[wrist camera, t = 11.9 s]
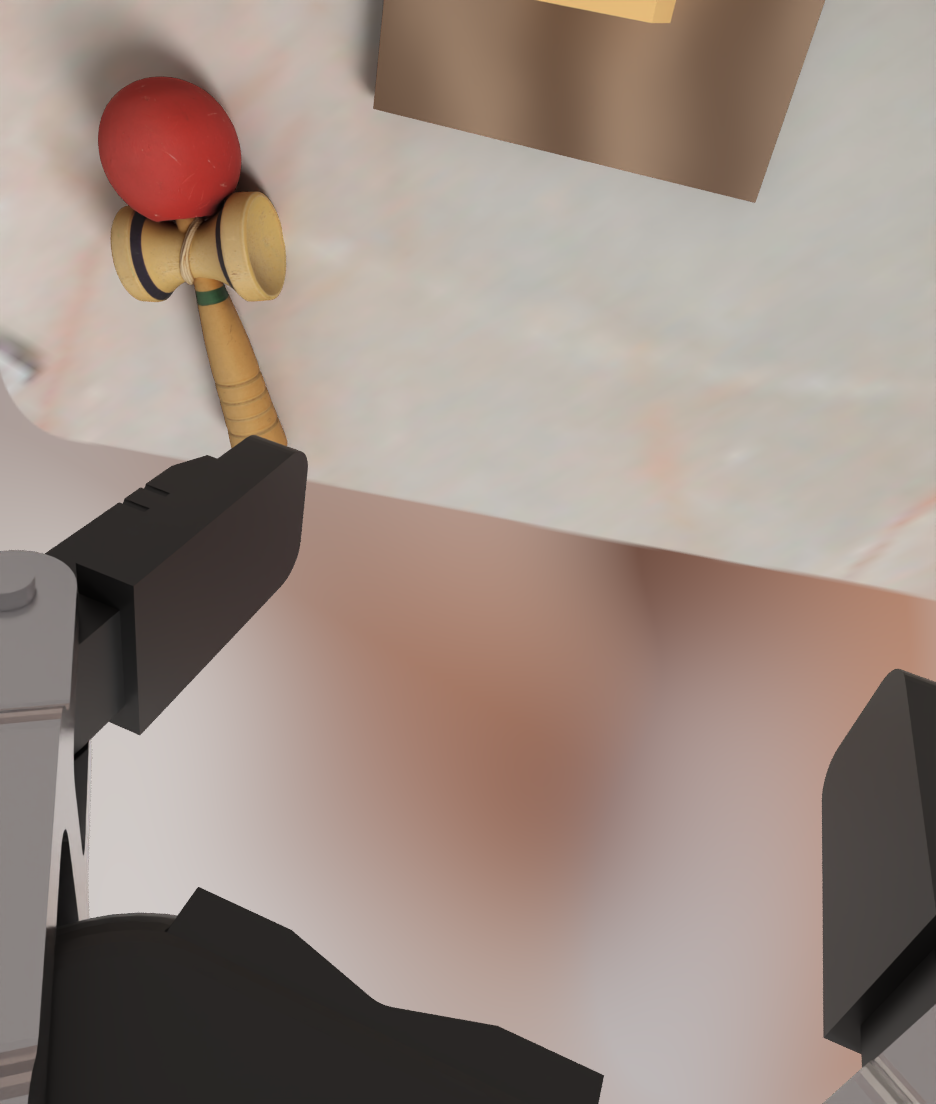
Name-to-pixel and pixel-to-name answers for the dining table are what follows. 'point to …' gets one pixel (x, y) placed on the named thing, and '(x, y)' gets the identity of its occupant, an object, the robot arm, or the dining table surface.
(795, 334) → the dining table surface
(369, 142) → the dining table surface
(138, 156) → the kendama
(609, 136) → the needle stand
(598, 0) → the tan hollow square block
